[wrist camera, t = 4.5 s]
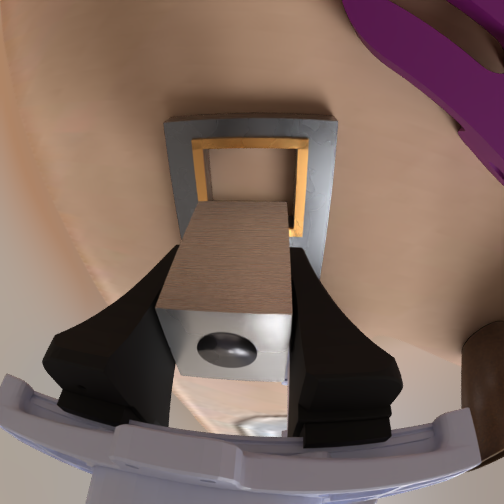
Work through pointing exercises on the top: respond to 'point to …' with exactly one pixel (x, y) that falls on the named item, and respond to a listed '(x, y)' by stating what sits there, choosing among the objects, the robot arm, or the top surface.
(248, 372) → the metal block with hole
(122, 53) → the top surface
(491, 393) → the plant pot
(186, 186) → the grey holder tray
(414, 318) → the top surface
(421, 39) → the mounting bracket
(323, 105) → the top surface
